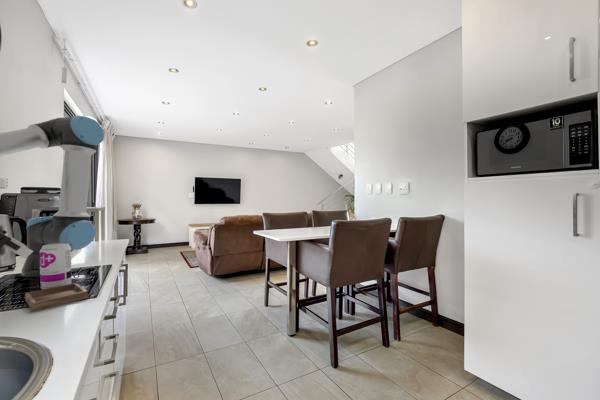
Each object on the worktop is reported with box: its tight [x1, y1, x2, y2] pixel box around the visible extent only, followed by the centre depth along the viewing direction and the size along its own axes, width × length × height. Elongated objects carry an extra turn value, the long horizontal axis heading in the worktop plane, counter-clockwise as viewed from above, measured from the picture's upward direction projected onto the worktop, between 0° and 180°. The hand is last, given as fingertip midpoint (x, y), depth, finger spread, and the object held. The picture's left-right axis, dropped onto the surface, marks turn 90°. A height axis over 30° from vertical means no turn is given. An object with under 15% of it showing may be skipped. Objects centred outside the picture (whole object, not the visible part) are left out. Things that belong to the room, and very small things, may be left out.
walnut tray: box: [24, 282, 89, 312], centre depth 85 cm, size 13×13×2 cm
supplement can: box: [39, 243, 72, 290], centre depth 96 cm, size 8×8×15 cm
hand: (25, 251), depth 89 cm, fingers open, 13 cm apart
